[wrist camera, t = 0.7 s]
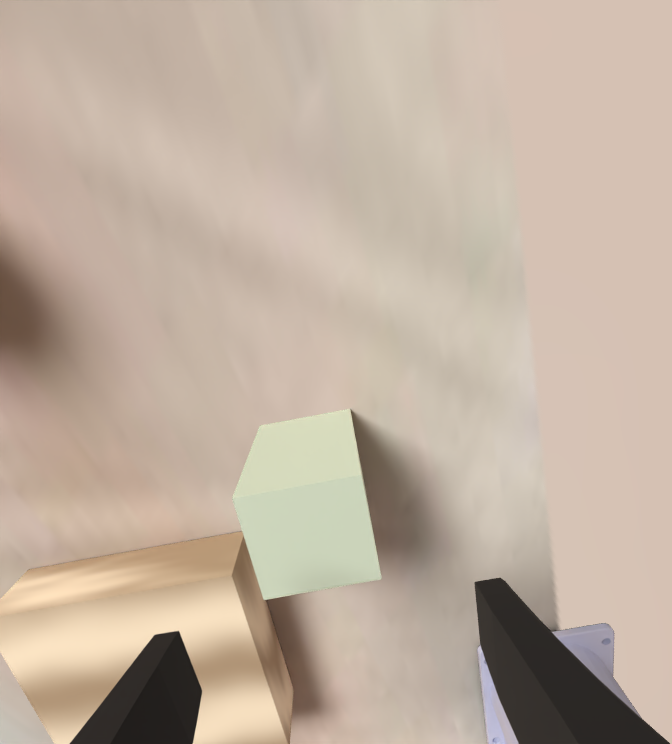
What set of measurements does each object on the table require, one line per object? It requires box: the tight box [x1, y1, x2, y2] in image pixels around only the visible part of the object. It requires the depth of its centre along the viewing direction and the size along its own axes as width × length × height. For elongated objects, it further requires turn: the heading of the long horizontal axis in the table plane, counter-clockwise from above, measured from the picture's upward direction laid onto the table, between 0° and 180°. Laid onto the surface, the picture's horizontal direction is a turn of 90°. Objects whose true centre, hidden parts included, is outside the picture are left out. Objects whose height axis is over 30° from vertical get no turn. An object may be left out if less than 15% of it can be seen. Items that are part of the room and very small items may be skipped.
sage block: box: [232, 409, 382, 600], centre depth 17 cm, size 4×4×6 cm
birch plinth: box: [0, 531, 294, 744], centre depth 21 cm, size 12×12×3 cm
